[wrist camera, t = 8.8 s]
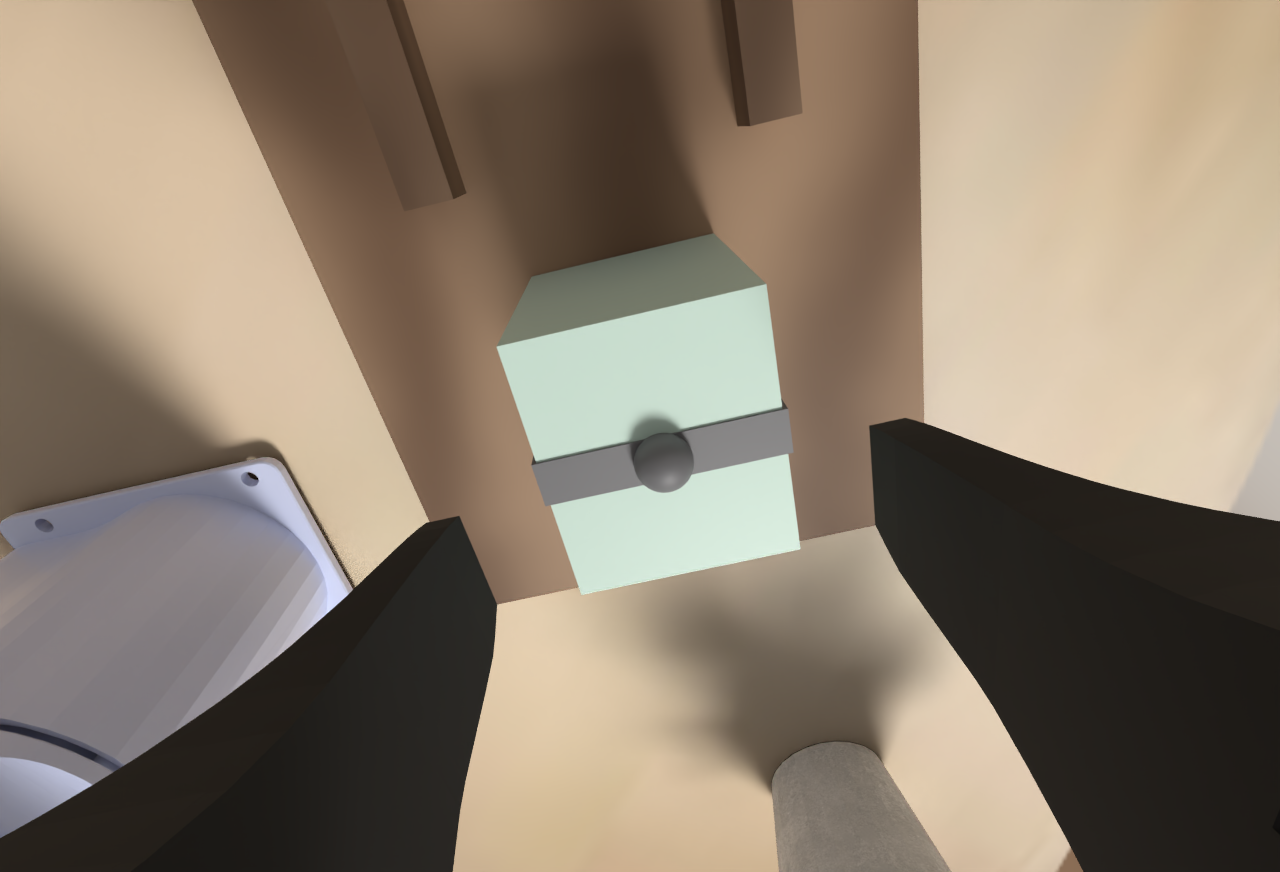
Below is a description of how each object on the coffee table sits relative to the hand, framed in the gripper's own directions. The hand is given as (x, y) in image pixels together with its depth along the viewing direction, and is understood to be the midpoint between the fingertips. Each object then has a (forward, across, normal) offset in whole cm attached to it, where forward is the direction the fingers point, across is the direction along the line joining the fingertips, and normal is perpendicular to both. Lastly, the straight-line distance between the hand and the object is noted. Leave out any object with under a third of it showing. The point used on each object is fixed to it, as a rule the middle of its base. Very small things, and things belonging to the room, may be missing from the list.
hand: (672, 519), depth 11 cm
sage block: (+8, 0, 0) cm, 8 cm away
